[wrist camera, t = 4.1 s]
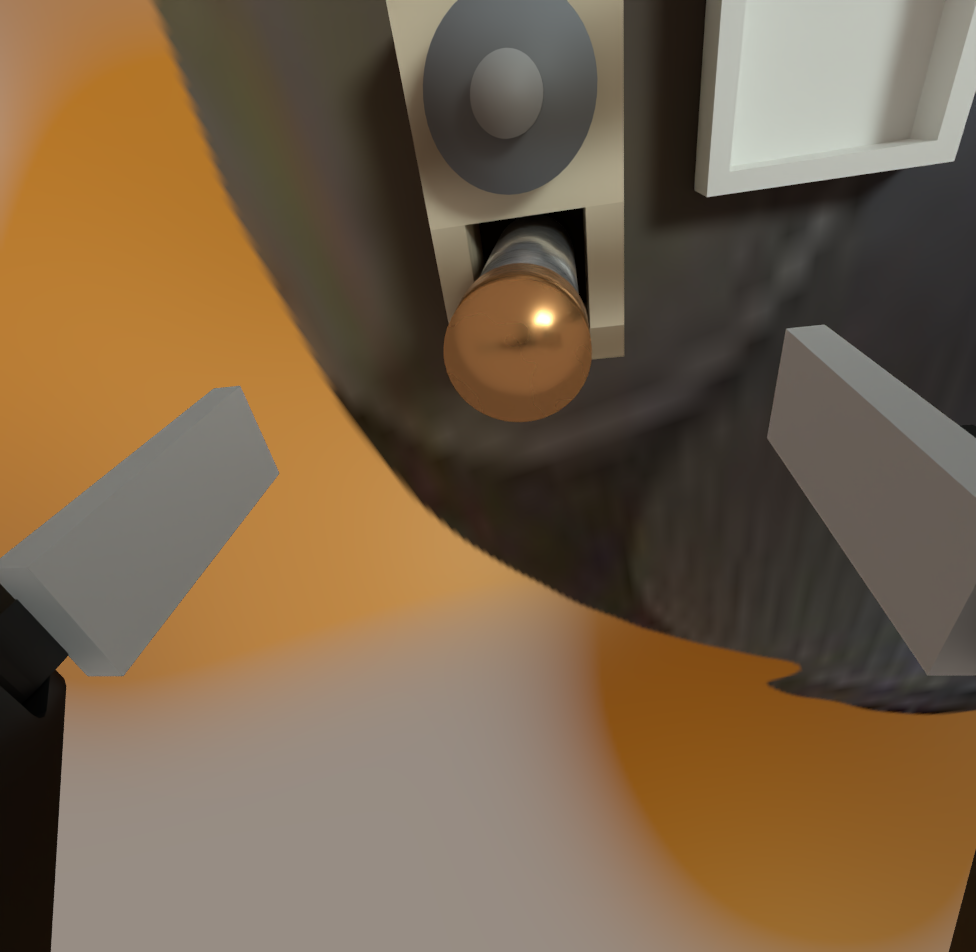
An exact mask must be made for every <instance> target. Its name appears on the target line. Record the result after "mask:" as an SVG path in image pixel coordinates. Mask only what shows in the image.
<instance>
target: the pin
mask: <svg viewBox="0 0 976 952" xmlns="http://www.w3.org/2000/svg"><path fill="white" fill-rule="evenodd" d="M591 359H592V346H591V337H590V330H589V323H588V317H587V313H586V309H585V306H584V304H583V301H582V299H581V298H580V296H579V292H578V283H577V274H576V265H575V256H574V248H573V243H572V240H571V238H570V236H569V234H568V232H567V231H566V229H565V228H564V227H563V226H562V225H561V224H560V223H559V222H558V221H556V220H555V219H553V218H551V217H548V216H545V215H541V214H537V215H530V216H523V217H520V218H518V219H516V220H514V221H513V222H511V223H510V224H509V225H508V226H507V227H506V228H505V229H504V230H503V232H502V233H501V235H500V236H499V238H498V240H497V243H496V245H495V247H494V249H493V251H492V253H491V255H490V257H489V259H488V261H487V263H486V265H485V267H484V269H483V271H482V273H481V275H480V277H479V278H478V279H477V280H476V281H475V282H474V283H473V284H472V285H471V286H470V287H469V289H468V290H467V291H466V293H465V294H464V296H463V297H462V299H461V301H460V303H459V305H458V307H457V309H456V310H455V312H454V314H453V316H452V318H451V320H450V322H449V325H448V327H447V330H446V334H445V339H444V362H445V367H446V370H447V373H448V376H449V378H450V381H451V382H452V384H453V386H454V388H455V389H456V390H457V392H458V393H459V394H460V396H461V397H462V398H463V399H464V400H465V401H466V402H467V403H468V404H470V405H471V406H472V407H473V408H475V409H476V410H478V411H480V412H481V413H483V414H485V415H487V416H490V417H493V418H495V419H499V420H503V421H510V422H527V421H534V420H538V419H542V418H545V417H547V416H550V415H552V414H554V413H556V412H557V411H559V410H560V409H562V408H563V407H565V406H566V405H567V404H568V403H569V402H570V401H572V400H573V398H574V397H575V396H576V395H577V394H578V393H579V391H580V389H581V388H582V386H583V385H584V383H585V380H586V378H587V376H588V373H589V370H590V365H591Z"/></svg>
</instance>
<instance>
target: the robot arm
mask: <svg viewBox="0 0 976 952" xmlns="http://www.w3.org/2000/svg"><path fill="white" fill-rule="evenodd" d="M767 439H768V440H769V442H770V443H771V445H772V446H773V448H774V449H775V451H776V452H777V454H778V455H779V456H780V458H781V459H782V461H783V462H784V464H785V465H786V467H787V468H788V470H789V471H790V473H791V474H792V476H793V477H794V479H795V480H796V482H797V483H798V485H799V486H800V488H801V489H802V490H803V492H804V493H805V495H806V496H807V498H808V499H809V501H810V502H811V504H812V505H813V507H814V508H815V510H816V511H817V513H818V514H819V516H820V517H821V519H822V520H823V521H824V523H825V524H826V526H827V527H828V529H829V530H830V532H831V533H832V535H833V536H834V538H835V539H836V541H837V542H838V544H839V545H840V547H841V548H842V550H843V551H844V552H845V554H846V555H847V557H848V558H849V560H850V561H851V563H852V564H853V566H854V567H855V569H856V570H857V572H858V573H859V575H860V576H861V578H862V579H863V581H864V582H865V584H866V585H867V586H868V588H869V589H870V591H871V592H872V594H873V595H874V597H875V598H876V600H877V601H878V603H879V604H880V606H881V607H882V609H883V610H884V612H885V613H886V615H887V616H888V617H889V619H890V620H891V622H892V623H893V625H894V626H895V628H896V629H897V631H898V632H899V634H900V635H901V637H902V638H903V640H904V641H905V643H906V644H907V646H908V647H909V649H910V650H911V651H912V653H913V654H914V656H915V657H916V659H917V660H918V662H919V663H920V665H921V666H922V668H923V669H924V671H925V672H926V674H927V675H976V426H974V425H963V426H959V425H958V424H956V423H955V422H954V421H952V420H951V419H950V418H948V417H947V416H946V415H944V414H943V413H942V412H940V411H939V410H938V409H936V408H935V407H934V406H932V405H931V404H930V403H928V402H927V401H926V400H924V399H923V398H922V397H920V396H919V395H918V394H916V393H915V392H914V391H912V390H911V389H910V388H908V387H907V386H906V385H904V384H903V383H902V382H900V381H899V380H898V379H896V378H895V377H894V376H892V375H891V374H890V373H888V372H887V371H886V370H884V369H883V368H882V367H880V366H879V365H878V364H876V363H875V362H874V361H872V360H871V359H870V358H868V357H867V356H866V355H864V354H863V353H862V352H860V351H859V350H858V349H856V348H855V347H854V346H852V345H851V344H850V343H848V342H847V341H846V340H844V339H843V338H842V337H840V336H839V335H838V334H836V333H835V332H834V331H832V330H831V329H830V328H828V327H827V326H826V325H816V326H807V327H797V328H787V329H786V332H785V338H784V343H783V349H782V355H781V361H780V366H779V372H778V378H777V384H776V389H775V395H774V401H773V407H772V412H771V418H770V424H769V430H768V436H767ZM278 475H279V471H278V469H277V467H276V465H275V462H274V460H273V458H272V456H271V454H270V451H269V449H268V447H267V445H266V443H265V440H264V438H263V436H262V433H261V431H260V429H259V427H258V425H257V423H256V420H255V418H254V416H253V414H252V411H251V409H250V407H249V405H248V402H247V400H246V398H245V396H244V393H243V391H242V389H241V387H240V386H234V387H225V388H214V389H213V390H211V391H210V392H209V393H208V394H206V395H205V396H204V397H203V398H201V399H200V400H199V401H197V402H196V403H195V404H194V405H192V406H191V407H190V408H189V409H187V410H186V411H185V412H184V413H182V414H181V415H180V416H179V417H177V418H176V419H175V420H174V421H172V422H171V423H170V424H169V425H167V426H166V427H165V428H164V429H162V430H161V431H160V432H159V433H157V434H156V435H155V436H154V437H152V438H151V439H150V440H148V441H147V442H146V443H145V444H143V445H142V446H141V447H140V448H138V449H137V450H136V451H135V452H133V453H132V454H131V455H130V456H128V457H127V458H126V459H125V460H123V461H122V462H121V463H119V464H118V465H117V466H116V467H114V468H113V469H112V470H111V471H109V472H108V473H107V474H106V475H104V476H103V477H102V478H101V479H99V480H98V481H97V482H96V483H94V484H93V485H92V486H91V487H89V488H88V489H87V490H86V491H84V492H83V493H82V494H81V495H79V496H78V497H77V498H75V499H74V500H73V501H72V502H70V503H69V504H68V505H67V506H65V507H64V508H63V509H62V510H61V511H59V512H58V513H57V514H55V515H54V516H53V517H52V518H51V519H49V520H48V521H47V522H45V523H44V524H43V525H42V526H40V527H39V528H38V529H37V530H35V531H34V532H33V533H32V534H30V535H29V536H28V537H27V538H25V539H24V540H23V541H21V542H20V543H19V544H18V545H16V547H14V548H13V549H11V550H10V551H9V552H8V553H6V554H5V555H4V556H3V557H1V558H0V952H51V937H52V920H53V919H52V918H53V903H54V885H55V868H56V852H57V834H58V817H59V800H60V783H61V766H62V749H63V732H64V715H65V697H66V684H65V680H64V678H63V677H62V676H61V675H60V674H59V673H58V672H57V671H56V670H55V669H56V668H57V667H58V666H59V665H60V664H61V663H62V662H63V661H64V659H65V658H66V657H67V656H69V657H70V658H71V659H72V660H73V661H74V662H75V663H76V664H77V665H78V666H79V667H80V669H82V671H83V672H84V673H85V674H86V675H87V676H124V675H125V673H126V672H127V670H128V669H129V668H130V667H131V666H132V664H133V663H134V662H135V660H136V659H137V658H138V656H139V655H140V654H141V652H142V651H143V650H144V648H145V647H146V646H147V645H148V643H149V642H150V640H152V638H153V637H154V636H155V634H156V633H157V631H158V630H159V629H160V628H161V626H162V625H163V624H164V623H165V621H166V620H167V619H168V617H169V616H170V615H171V614H172V612H173V611H174V610H175V608H176V607H177V606H178V604H179V603H180V602H181V601H182V599H183V598H184V597H185V595H186V594H187V593H188V591H189V590H190V589H191V588H192V586H193V585H194V584H195V582H196V581H197V580H198V578H199V577H200V576H201V575H202V573H203V572H204V571H205V569H206V568H207V567H208V565H209V564H210V563H211V562H212V560H213V559H214V558H215V556H216V555H217V554H218V553H219V551H220V550H221V549H222V547H223V546H224V545H225V543H226V542H227V541H228V540H229V538H230V537H231V536H232V534H233V533H234V532H235V530H236V529H237V528H238V526H239V525H240V524H241V522H242V521H243V520H244V518H245V517H246V516H247V515H248V514H249V512H250V511H251V510H252V508H253V507H254V506H255V504H256V503H257V502H258V501H259V499H260V498H261V497H262V495H263V494H264V493H265V491H266V490H267V489H268V487H269V486H270V485H271V483H272V482H273V481H274V480H275V478H276V477H277V476H278ZM949 952H976V851H975V855H974V858H973V862H972V866H971V870H970V874H969V877H968V881H967V885H966V889H965V893H964V896H963V900H962V904H961V908H960V911H959V915H958V919H957V923H956V927H955V930H954V934H953V938H952V942H951V946H950V949H949Z"/></svg>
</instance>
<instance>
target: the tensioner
mask: <svg viewBox="0 0 976 952" xmlns="http://www.w3.org/2000/svg"><path fill="white" fill-rule="evenodd" d="M386 3H387V8H388V14H389V19H390V24H391V29H392V34H393V39H394V44H395V50H396V55H397V60H398V65H399V70H400V75H401V81H402V86H403V91H404V96H405V101H406V106H407V112H408V117H409V122H410V127H411V132H412V137H413V143H414V148H415V153H416V158H417V163H418V168H419V174H420V179H421V184H422V189H423V194H424V199H425V204H426V210H427V215H428V220H429V225H430V230H431V235H432V241H433V246H434V251H435V256H436V261H437V266H438V272H439V277H440V282H441V287H442V292H443V297H444V303H445V308H446V313H447V318H448V323H449V322H450V320H451V318H452V316H453V314H454V312H455V310H456V309H457V307H458V305H459V303H460V301H461V299H462V297H463V296H464V294H465V293H466V291H467V290H468V289H469V287H470V286H471V285H472V284H473V283H474V282H475V281H476V280H477V279H478V278H479V277H480V275H481V273H482V271H483V269H484V267H485V262H484V255H483V248H482V241H481V234H480V227H479V223H483V222H489V221H496V220H503V219H510V218H516V217H523V216H530V215H537V214H543V213H550V212H557V211H564V210H570V209H577V208H583V231H584V255H585V278H586V302H587V303H583V304H584V306H585V309H586V313H587V317H588V323H589V330H590V337H591V346H592V359H601V358H612V357H622V356H624V74H623V0H386Z"/></svg>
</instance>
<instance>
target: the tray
mask: <svg viewBox="0 0 976 952" xmlns="http://www.w3.org/2000/svg"><path fill="white" fill-rule="evenodd" d="M975 91H976V0H706V11H705V27H704V42H703V58H702V74H701V89H700V105H699V120H698V136H697V151H696V167H695V182H694V190H695V191H696V192H698V193H700V194H702V195H704V196H705V197H712V196H719V195H726V194H732V193H739V192H746V191H753V190H760V189H767V188H774V187H780V186H787V185H794V184H801V183H808V182H815V181H822V180H828V179H835V178H842V177H849V176H856V175H863V174H870V173H877V172H883V171H890V170H897V169H904V168H911V167H918V166H925V165H931V164H938V163H945V162H952V161H954V160H955V157H956V153H957V150H958V147H959V144H960V140H961V137H962V134H963V130H964V127H965V124H966V121H967V117H968V114H969V111H970V107H971V104H972V101H973V97H974V94H975Z"/></svg>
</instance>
